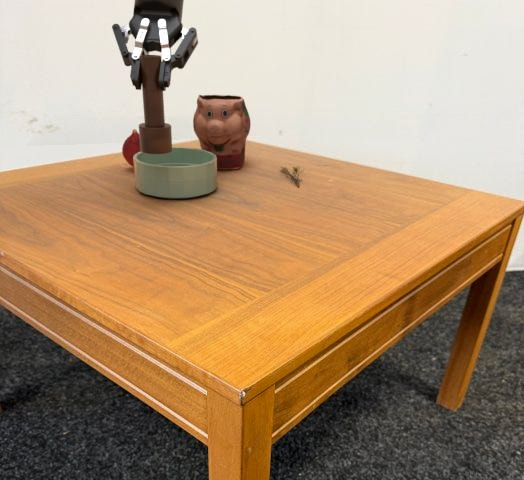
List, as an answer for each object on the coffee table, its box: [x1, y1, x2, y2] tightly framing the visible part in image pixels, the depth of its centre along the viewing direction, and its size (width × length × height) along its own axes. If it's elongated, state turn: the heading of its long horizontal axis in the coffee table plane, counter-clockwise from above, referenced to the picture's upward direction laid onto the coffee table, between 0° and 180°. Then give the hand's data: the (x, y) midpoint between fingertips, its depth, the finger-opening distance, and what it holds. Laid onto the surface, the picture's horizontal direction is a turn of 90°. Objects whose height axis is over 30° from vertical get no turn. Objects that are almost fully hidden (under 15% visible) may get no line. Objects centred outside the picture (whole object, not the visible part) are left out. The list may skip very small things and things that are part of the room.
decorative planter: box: [192, 94, 251, 170], centre depth 118 cm, size 20×12×14 cm, turn 3°
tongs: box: [280, 165, 301, 189], centre depth 113 cm, size 4×13×2 cm, turn 10°
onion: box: [121, 128, 141, 168], centre depth 113 cm, size 6×6×8 cm
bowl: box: [133, 146, 218, 200], centre depth 103 cm, size 15×15×6 cm
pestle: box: [138, 54, 173, 154], centre depth 88 cm, size 5×5×14 cm
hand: (149, 86), depth 84 cm, fingers closed on pestle, 3 cm apart
